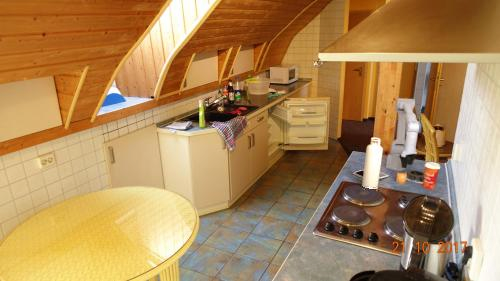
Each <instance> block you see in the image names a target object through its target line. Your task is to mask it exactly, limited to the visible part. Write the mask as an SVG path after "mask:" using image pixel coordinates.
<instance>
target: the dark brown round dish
mask: <svg viewBox="0 0 500 281" xmlns="http://www.w3.org/2000/svg"><path fill="white" fill-rule="evenodd" d="M406 174H407V177H406V178H407V179H409V180H408V181H410V180H412V181H411V182H414V181H416V182H415V183H417V182H423V181H424V171H421V170H417V169H409V170H408V169H407V170H406ZM407 179H406V180H407Z"/></svg>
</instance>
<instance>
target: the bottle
mask: <svg viewBox="0 0 500 281" xmlns="http://www.w3.org/2000/svg"><path fill="white" fill-rule="evenodd" d="M381 141H382V140H381V138H379V137H371V139H370V144H368V145H367V146H366V150H365V157H364V167H363V176H362V181H361V182H362V183H361V187H362V186H363V187H365V188H369V189H377V190H378V188H379V187H378V186H379V181H380V180H379V179H380V173H381V166H382V159H383V158H382V157H383V151H384V147H382V146H381Z"/></svg>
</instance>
